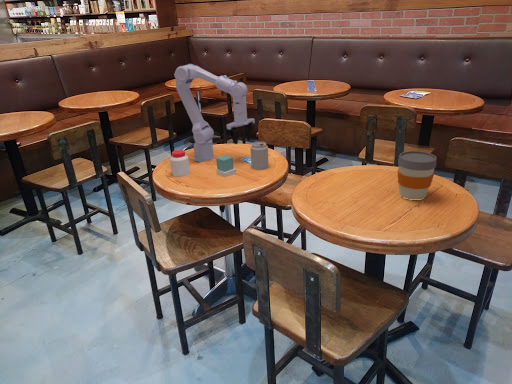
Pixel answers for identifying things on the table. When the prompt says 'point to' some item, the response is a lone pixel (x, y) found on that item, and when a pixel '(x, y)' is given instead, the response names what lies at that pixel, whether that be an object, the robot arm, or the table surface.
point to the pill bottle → (179, 163)
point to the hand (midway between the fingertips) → (242, 141)
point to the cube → (225, 163)
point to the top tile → (227, 173)
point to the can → (259, 156)
